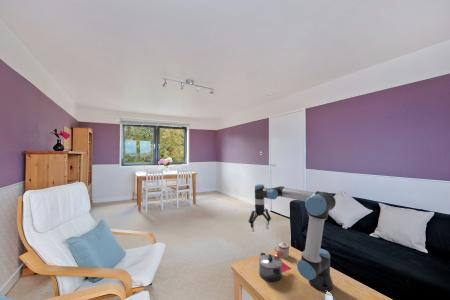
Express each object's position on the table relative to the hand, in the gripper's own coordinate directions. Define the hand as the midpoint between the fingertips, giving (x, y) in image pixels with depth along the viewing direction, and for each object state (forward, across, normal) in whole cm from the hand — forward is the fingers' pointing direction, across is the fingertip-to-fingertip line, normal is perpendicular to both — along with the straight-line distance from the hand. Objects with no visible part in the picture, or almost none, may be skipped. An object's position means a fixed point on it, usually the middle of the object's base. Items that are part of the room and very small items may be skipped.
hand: (260, 230), depth 162 cm
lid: (+18, -2, +14) cm, 23 cm away
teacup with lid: (+27, -24, -3) cm, 36 cm away
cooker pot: (+27, +1, +13) cm, 30 cm away
